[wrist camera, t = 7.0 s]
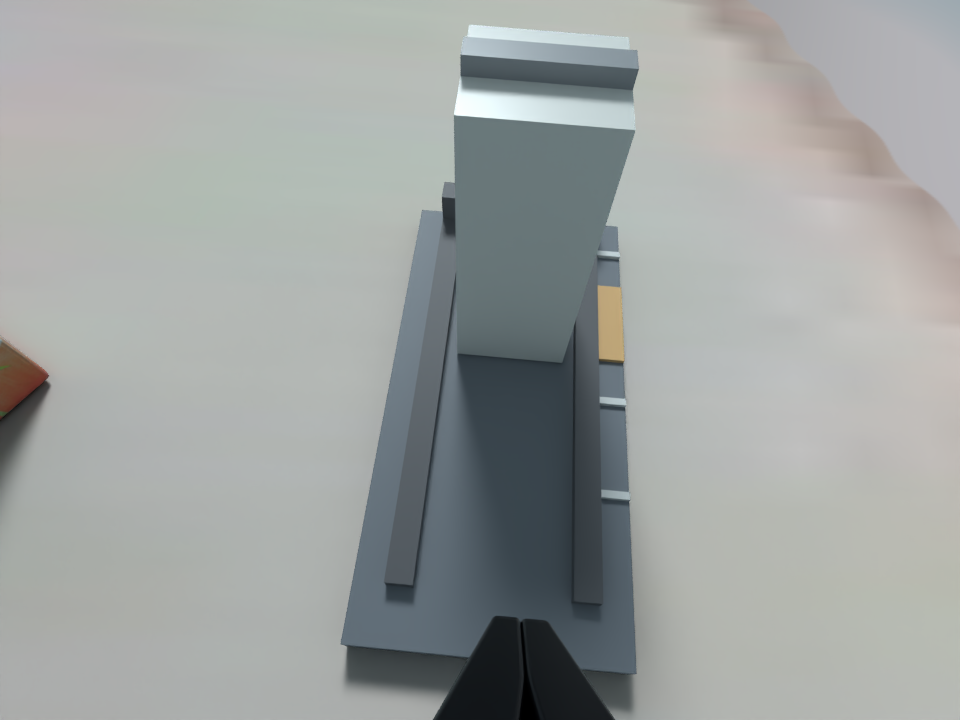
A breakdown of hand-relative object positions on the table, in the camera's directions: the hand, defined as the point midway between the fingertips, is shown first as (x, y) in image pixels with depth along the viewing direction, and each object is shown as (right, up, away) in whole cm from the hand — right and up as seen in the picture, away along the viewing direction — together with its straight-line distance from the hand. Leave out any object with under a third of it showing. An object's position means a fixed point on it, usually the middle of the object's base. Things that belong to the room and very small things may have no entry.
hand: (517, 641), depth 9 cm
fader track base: (+1, +2, +16) cm, 17 cm away
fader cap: (+1, +6, +17) cm, 18 cm away
